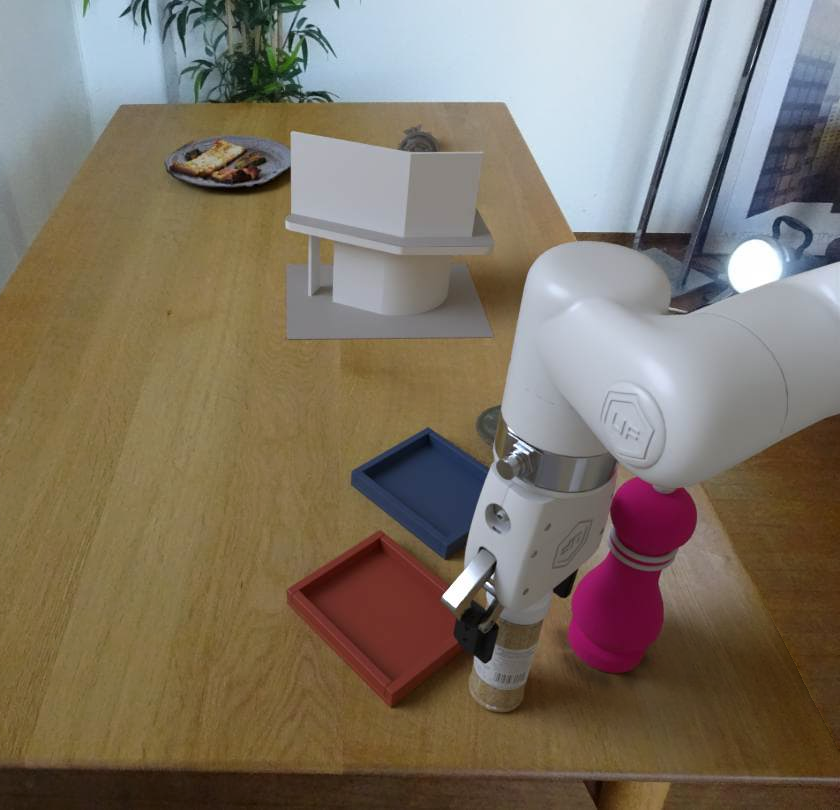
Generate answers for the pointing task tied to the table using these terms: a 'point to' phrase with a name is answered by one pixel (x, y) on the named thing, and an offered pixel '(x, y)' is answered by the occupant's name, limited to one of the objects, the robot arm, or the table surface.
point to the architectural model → (384, 242)
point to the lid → (488, 424)
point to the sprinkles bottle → (509, 657)
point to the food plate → (229, 161)
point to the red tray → (380, 615)
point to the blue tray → (426, 489)
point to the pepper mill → (630, 576)
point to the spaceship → (418, 141)
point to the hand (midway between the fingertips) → (512, 615)
